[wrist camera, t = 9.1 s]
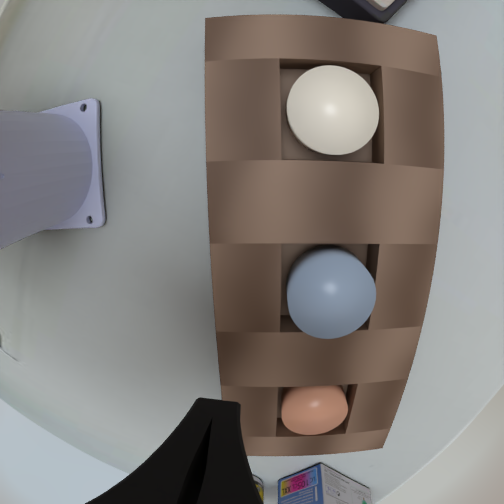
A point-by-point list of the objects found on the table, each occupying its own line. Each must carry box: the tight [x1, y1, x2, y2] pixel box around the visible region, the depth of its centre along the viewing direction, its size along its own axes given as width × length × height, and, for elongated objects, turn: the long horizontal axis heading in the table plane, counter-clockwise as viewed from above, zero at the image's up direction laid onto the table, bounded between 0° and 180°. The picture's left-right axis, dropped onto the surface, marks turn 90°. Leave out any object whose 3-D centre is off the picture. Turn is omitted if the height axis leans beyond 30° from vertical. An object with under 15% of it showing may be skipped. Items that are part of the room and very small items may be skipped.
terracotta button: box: [281, 385, 348, 435], centre depth 20 cm, size 4×4×2 cm
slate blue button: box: [286, 245, 376, 339], centre depth 16 cm, size 4×4×2 cm
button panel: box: [205, 15, 444, 456], centre depth 17 cm, size 12×28×3 cm, turn 1°
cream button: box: [285, 65, 379, 155], centre depth 14 cm, size 4×4×2 cm
